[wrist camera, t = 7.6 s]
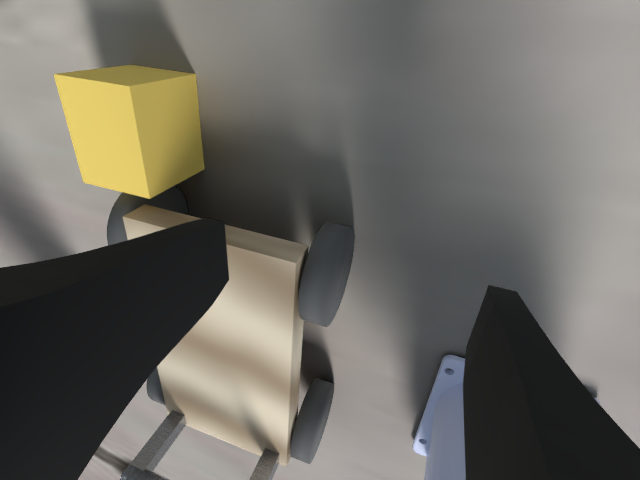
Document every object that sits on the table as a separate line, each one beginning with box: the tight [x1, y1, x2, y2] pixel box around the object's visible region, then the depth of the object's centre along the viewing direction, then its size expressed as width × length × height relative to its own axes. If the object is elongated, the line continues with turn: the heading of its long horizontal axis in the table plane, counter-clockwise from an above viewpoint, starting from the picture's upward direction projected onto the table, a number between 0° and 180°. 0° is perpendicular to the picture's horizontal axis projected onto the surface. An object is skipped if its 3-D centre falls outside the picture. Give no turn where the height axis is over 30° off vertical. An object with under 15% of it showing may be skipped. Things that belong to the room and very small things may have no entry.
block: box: [54, 65, 204, 199], centre depth 19 cm, size 5×4×4 cm
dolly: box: [107, 186, 355, 480], centre depth 21 cm, size 17×12×10 cm
